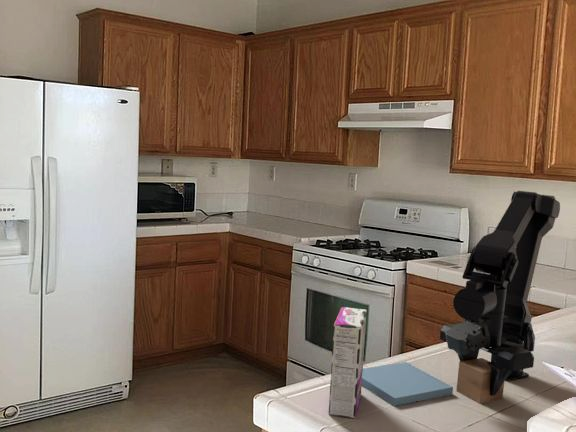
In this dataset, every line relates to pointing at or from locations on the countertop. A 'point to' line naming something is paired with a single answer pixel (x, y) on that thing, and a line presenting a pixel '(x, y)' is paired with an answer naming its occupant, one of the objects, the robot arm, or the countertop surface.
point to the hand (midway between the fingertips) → (479, 388)
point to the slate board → (403, 383)
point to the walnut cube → (476, 381)
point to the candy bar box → (347, 362)
